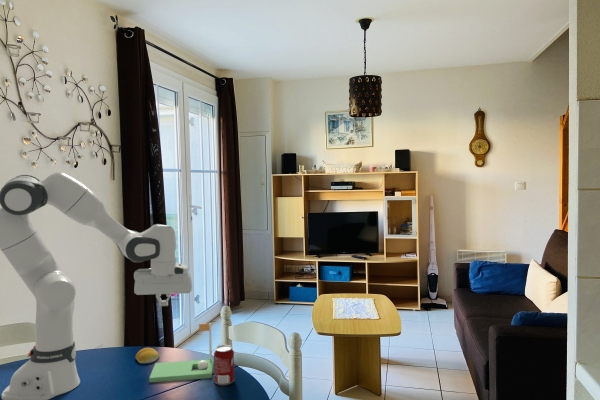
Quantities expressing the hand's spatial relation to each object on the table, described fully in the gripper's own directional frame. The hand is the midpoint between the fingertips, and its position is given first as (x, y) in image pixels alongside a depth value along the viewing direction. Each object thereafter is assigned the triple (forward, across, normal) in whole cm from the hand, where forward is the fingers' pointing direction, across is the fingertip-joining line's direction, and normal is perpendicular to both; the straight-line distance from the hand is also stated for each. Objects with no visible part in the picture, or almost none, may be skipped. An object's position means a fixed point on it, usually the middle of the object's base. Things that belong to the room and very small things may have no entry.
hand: (163, 305), depth 159 cm
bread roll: (+24, -8, +9) cm, 27 cm away
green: (+23, +8, -5) cm, 25 cm away
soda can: (+23, +22, -15) cm, 36 cm away
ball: (+22, +13, -5) cm, 27 cm away
